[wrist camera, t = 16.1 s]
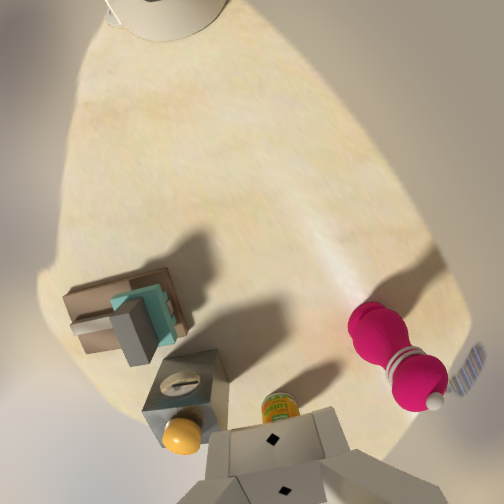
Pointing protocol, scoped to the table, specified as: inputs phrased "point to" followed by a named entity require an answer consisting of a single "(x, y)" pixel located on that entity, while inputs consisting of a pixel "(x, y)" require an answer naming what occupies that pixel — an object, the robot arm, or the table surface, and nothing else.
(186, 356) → the cabinet
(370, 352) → the pepper mill
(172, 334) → the carriage
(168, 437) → the button
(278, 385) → the table surface
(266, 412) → the supplement bottle
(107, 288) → the rail board
